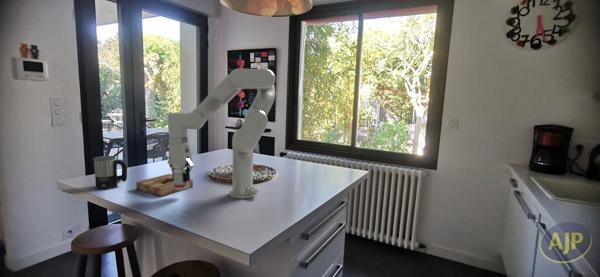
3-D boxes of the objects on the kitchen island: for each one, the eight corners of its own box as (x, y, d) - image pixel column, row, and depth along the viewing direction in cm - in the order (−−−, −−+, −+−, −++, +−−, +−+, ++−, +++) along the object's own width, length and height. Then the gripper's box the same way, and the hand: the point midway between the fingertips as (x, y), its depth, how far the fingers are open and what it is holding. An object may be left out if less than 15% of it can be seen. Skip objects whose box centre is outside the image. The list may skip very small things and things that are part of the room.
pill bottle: (185, 184, 136) (183, 161, 134) (191, 187, 132) (190, 163, 130) (172, 187, 132) (170, 163, 130) (178, 190, 128) (176, 165, 126)
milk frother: (94, 191, 136) (93, 160, 134) (94, 182, 149) (92, 154, 147) (129, 186, 145) (128, 157, 143) (126, 178, 157) (125, 151, 155)
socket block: (192, 187, 148) (192, 179, 147) (161, 197, 132) (160, 188, 131) (169, 181, 156) (168, 173, 156) (136, 189, 140) (136, 181, 140)
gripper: (199, 140, 128) (201, 180, 131) (172, 138, 136) (175, 175, 139) (185, 143, 121) (187, 185, 124) (158, 140, 129) (161, 179, 132)
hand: (181, 179), depth 131 cm, fingers closed on pill bottle, 6 cm apart
